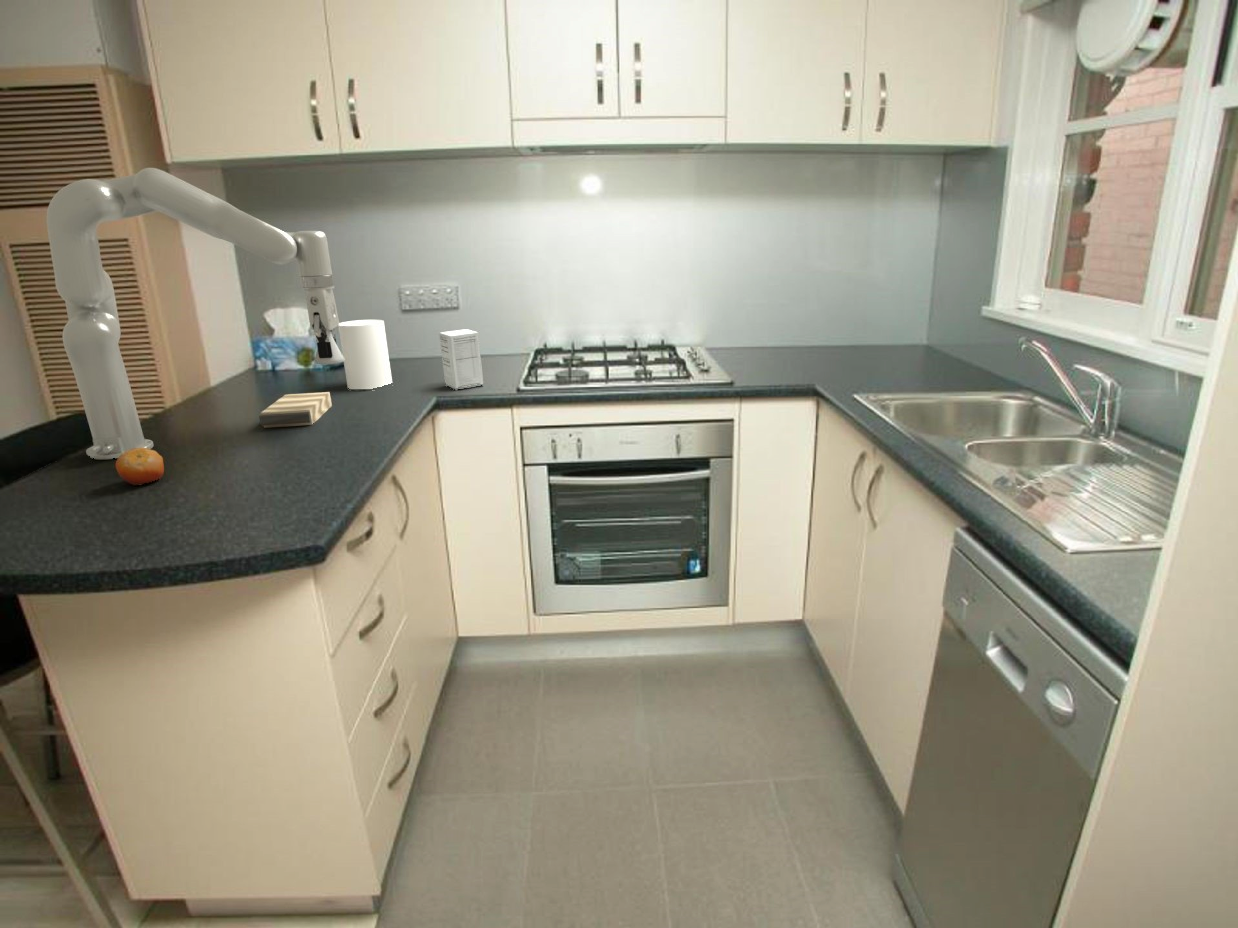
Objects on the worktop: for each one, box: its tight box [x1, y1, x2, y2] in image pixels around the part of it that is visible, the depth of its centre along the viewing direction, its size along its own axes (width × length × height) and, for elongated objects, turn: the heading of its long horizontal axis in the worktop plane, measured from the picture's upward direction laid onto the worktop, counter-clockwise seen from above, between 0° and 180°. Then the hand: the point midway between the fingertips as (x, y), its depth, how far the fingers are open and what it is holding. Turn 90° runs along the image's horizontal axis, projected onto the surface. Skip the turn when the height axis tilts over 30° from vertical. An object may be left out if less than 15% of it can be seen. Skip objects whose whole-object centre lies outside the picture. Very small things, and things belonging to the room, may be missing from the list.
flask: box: [313, 328, 345, 366], centre depth 181 cm, size 7×7×10 cm
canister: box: [337, 319, 393, 390], centre depth 222 cm, size 14×14×20 cm
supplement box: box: [438, 328, 484, 388], centre depth 218 cm, size 10×9×17 cm
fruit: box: [115, 447, 165, 486], centre depth 144 cm, size 8×8×8 cm
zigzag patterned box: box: [258, 391, 333, 429], centre depth 191 cm, size 22×12×4 cm, turn 7°
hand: (328, 355), depth 182 cm, fingers closed on flask, 4 cm apart
